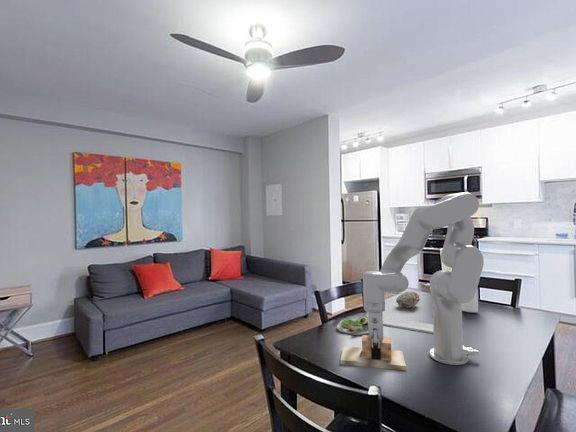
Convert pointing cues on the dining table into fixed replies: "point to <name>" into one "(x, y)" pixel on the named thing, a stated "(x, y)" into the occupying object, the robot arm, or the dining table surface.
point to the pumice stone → (408, 299)
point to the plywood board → (355, 358)
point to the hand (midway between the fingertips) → (376, 354)
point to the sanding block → (384, 346)
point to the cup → (471, 304)
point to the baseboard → (408, 325)
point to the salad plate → (354, 326)
